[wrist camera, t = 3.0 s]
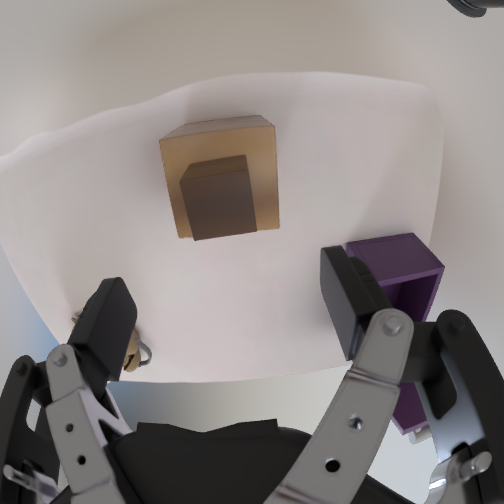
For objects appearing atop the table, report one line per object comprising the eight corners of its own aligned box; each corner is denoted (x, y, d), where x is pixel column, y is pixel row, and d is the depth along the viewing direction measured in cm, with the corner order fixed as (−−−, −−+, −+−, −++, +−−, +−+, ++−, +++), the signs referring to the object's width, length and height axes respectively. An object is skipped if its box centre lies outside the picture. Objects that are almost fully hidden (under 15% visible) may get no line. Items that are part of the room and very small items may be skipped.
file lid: (403, 430, 19) (395, 462, 19) (479, 392, 19) (469, 426, 19) (354, 364, 35) (353, 393, 36) (415, 346, 35) (413, 375, 35)
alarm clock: (64, 315, 35) (144, 351, 36) (79, 297, 39) (155, 328, 40) (76, 354, 41) (146, 386, 41) (88, 337, 45) (155, 365, 46)
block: (189, 164, 18) (178, 181, 15) (245, 154, 18) (248, 169, 15) (200, 214, 20) (193, 241, 17) (253, 206, 20) (257, 232, 17)
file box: (346, 242, 34) (371, 282, 27) (413, 232, 34) (445, 266, 27) (338, 323, 43) (353, 364, 36) (394, 311, 43) (414, 346, 36)
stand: (183, 124, 25) (158, 140, 17) (261, 115, 25) (274, 125, 17) (194, 194, 30) (178, 239, 21) (266, 186, 30) (279, 228, 21)
